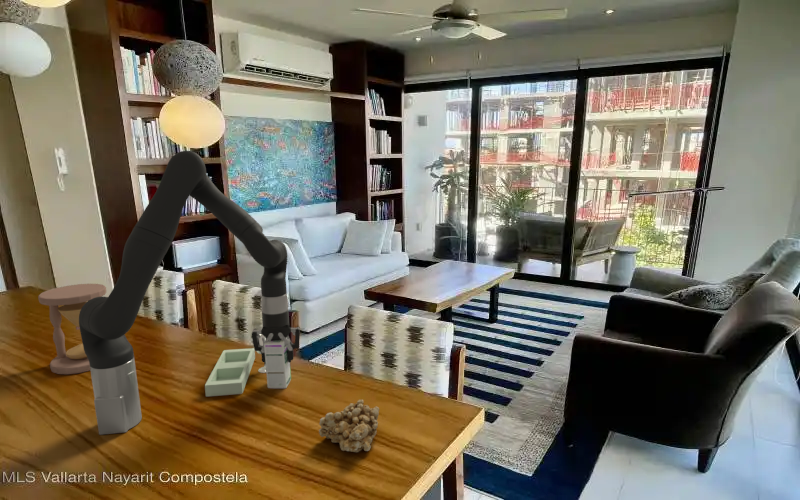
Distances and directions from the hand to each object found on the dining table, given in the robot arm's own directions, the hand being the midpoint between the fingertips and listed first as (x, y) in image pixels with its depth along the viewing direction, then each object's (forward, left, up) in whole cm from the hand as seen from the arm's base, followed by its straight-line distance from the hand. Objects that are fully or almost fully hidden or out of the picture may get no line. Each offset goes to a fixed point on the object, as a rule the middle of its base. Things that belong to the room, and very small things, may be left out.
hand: (278, 361), depth 129 cm
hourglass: (+26, +66, -7) cm, 71 cm away
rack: (+8, +15, -7) cm, 18 cm away
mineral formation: (-30, -21, -8) cm, 38 cm away
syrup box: (0, 0, -7) cm, 7 cm away
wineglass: (+10, +5, -7) cm, 14 cm away
